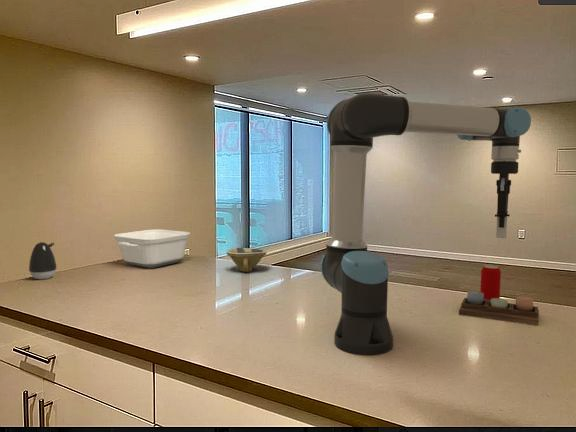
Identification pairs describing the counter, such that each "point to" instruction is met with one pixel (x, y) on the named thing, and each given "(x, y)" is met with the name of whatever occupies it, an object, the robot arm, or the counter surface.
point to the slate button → (475, 297)
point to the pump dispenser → (42, 261)
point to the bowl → (246, 258)
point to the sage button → (499, 303)
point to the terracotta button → (524, 303)
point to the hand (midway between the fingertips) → (501, 237)
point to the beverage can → (490, 282)
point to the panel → (499, 312)
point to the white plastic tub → (152, 247)
